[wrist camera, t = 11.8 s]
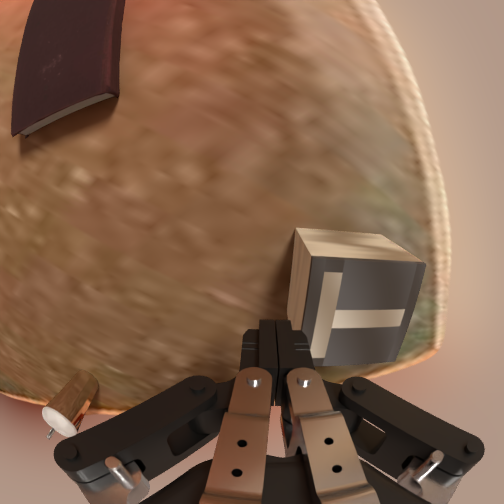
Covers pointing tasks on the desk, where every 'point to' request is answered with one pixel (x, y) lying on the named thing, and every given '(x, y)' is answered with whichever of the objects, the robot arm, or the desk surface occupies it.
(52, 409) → the milkshake
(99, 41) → the book
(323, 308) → the maple block
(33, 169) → the desk surface
